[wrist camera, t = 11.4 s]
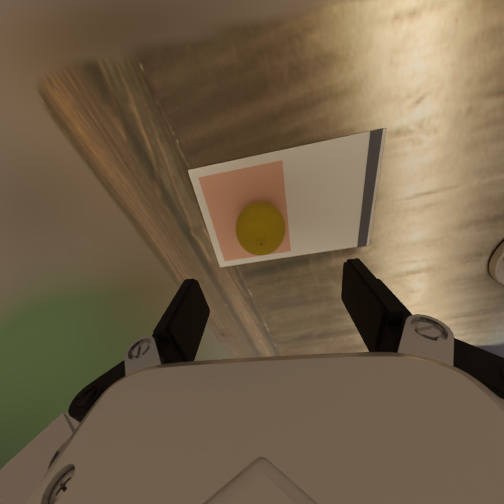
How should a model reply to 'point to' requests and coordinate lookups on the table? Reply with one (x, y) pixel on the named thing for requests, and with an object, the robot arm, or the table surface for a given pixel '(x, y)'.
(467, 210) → the table surface
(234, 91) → the table surface
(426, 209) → the table surface
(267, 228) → the lemon
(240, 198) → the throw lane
